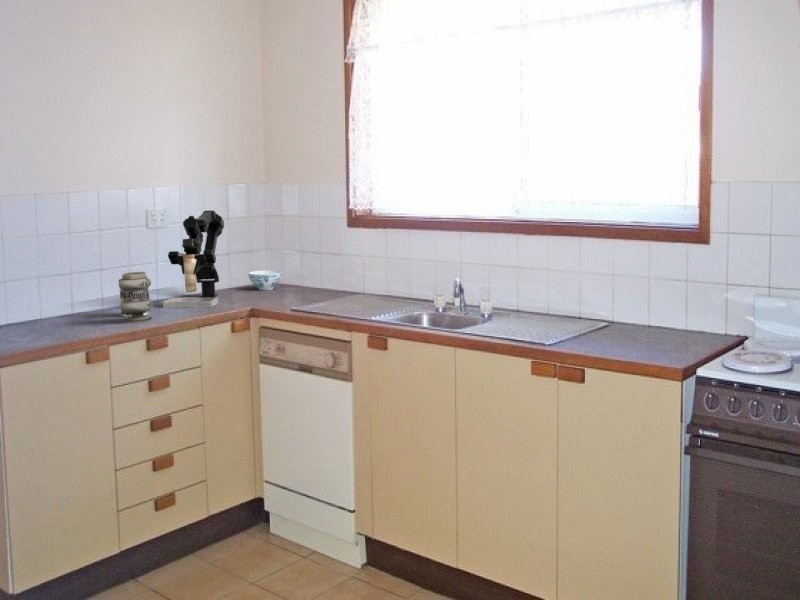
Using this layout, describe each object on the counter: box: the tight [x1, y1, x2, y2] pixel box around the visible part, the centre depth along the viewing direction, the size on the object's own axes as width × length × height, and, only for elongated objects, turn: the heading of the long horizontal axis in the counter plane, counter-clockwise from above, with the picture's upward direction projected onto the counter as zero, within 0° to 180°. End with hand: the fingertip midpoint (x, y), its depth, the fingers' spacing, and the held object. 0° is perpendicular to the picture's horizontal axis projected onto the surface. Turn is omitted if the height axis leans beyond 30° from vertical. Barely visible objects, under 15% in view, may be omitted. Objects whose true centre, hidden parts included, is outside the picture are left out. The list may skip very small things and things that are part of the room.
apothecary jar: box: [118, 271, 154, 323], centre depth 357 cm, size 12×12×18 cm
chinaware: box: [248, 269, 283, 291], centre depth 432 cm, size 15×15×8 cm
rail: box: [162, 296, 219, 309], centre depth 391 cm, size 10×20×2 cm, turn 85°
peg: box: [183, 254, 198, 293], centre depth 389 cm, size 4×4×15 cm
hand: (188, 273), depth 387 cm, fingers closed on peg, 4 cm apart
